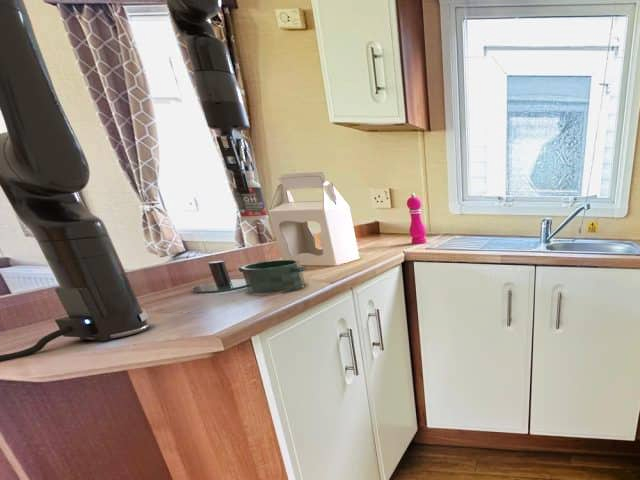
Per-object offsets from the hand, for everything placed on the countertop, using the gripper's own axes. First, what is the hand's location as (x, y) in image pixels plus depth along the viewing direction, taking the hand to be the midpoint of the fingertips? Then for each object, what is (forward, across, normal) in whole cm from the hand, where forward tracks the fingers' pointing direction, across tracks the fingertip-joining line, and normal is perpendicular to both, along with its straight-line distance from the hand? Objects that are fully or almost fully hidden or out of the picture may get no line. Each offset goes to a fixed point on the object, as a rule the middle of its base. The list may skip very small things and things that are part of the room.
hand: (248, 193), depth 92 cm
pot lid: (+22, -17, -16) cm, 32 cm away
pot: (+23, -10, -2) cm, 25 cm away
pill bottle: (+6, 0, 0) cm, 6 cm away
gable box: (+23, -51, +5) cm, 56 cm away
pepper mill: (+23, -84, +42) cm, 96 cm away
